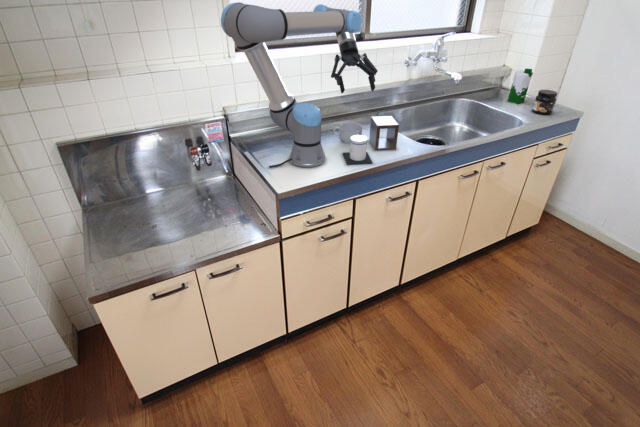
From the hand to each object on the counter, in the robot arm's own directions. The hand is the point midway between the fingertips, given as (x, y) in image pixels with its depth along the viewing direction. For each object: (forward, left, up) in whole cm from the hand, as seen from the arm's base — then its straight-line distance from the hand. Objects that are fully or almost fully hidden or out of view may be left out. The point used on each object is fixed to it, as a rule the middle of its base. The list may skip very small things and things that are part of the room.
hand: (358, 90), depth 160 cm
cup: (0, -7, -27) cm, 28 cm away
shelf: (+15, +7, -28) cm, 33 cm away
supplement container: (+120, +44, -28) cm, 131 cm away
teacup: (-1, +13, -28) cm, 31 cm away
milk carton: (+116, +65, -28) cm, 136 cm away
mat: (0, -7, -28) cm, 29 cm away
